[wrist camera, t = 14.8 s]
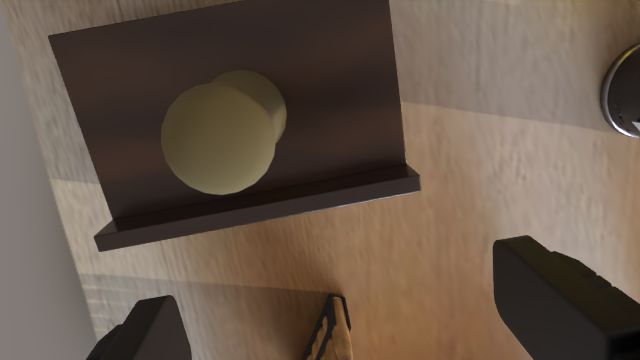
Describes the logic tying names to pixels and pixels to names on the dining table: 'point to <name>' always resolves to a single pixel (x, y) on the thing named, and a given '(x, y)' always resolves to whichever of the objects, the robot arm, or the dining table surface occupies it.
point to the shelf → (229, 55)
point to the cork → (224, 132)
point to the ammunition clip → (331, 332)
